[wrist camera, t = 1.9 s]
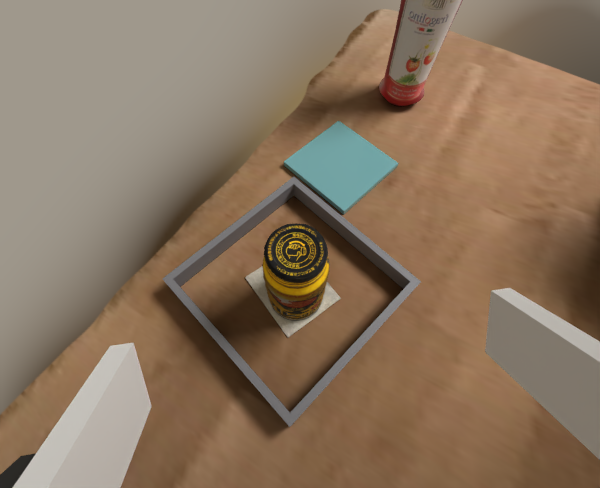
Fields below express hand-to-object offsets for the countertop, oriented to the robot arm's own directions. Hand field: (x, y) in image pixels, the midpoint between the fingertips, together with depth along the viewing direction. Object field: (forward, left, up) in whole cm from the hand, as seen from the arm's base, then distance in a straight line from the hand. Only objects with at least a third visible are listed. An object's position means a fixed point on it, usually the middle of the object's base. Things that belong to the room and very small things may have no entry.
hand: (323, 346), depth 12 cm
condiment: (-7, -9, -24) cm, 26 cm away
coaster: (-24, -17, -24) cm, 37 cm away
